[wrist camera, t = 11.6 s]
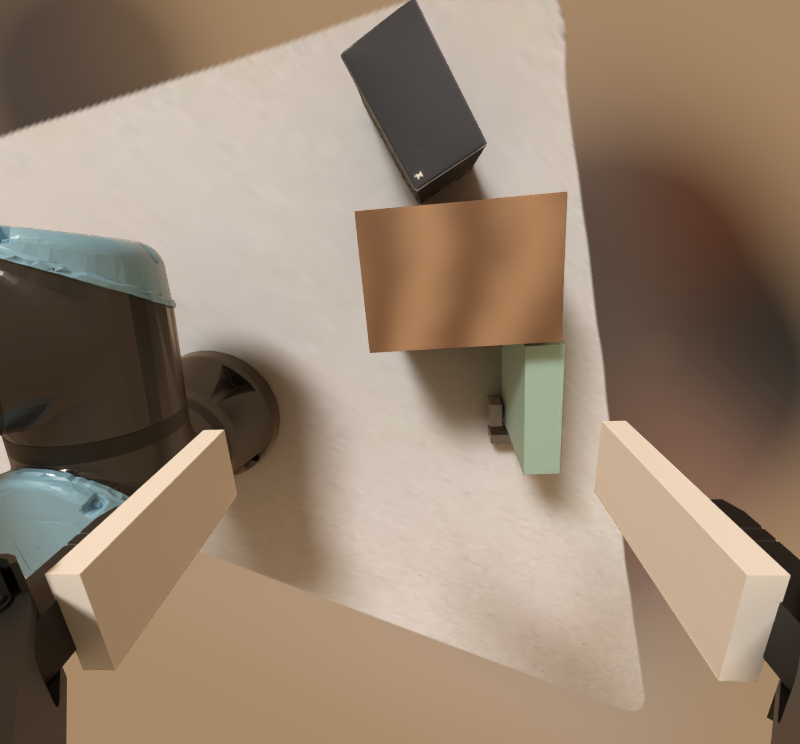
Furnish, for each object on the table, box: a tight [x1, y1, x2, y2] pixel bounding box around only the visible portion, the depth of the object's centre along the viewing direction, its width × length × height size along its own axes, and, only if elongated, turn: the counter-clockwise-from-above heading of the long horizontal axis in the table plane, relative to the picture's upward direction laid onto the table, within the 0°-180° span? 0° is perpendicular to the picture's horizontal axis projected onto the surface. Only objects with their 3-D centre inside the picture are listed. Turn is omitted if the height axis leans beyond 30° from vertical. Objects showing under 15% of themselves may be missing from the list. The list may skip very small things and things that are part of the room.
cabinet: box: [355, 192, 567, 353], centre depth 36 cm, size 14×10×14 cm
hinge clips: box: [487, 345, 512, 444], centre depth 45 cm, size 6×14×2 cm, turn 5°
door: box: [502, 341, 565, 475], centre depth 40 cm, size 3×12×12 cm, turn 5°
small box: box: [341, 0, 487, 203], centre depth 34 cm, size 11×6×10 cm, turn 31°
